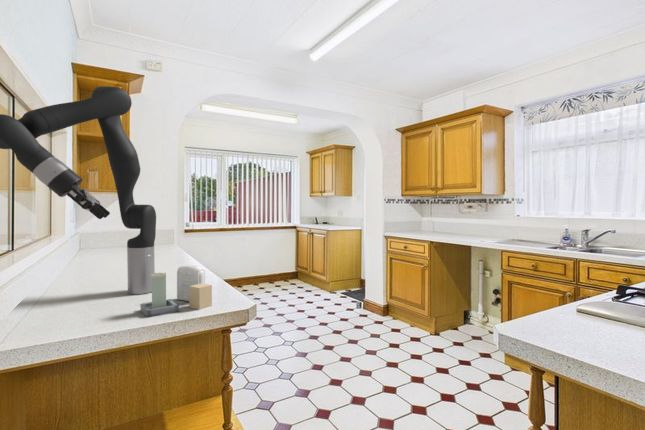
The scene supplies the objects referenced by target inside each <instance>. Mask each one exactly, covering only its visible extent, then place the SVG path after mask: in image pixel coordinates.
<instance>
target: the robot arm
mask: <svg viewBox="0 0 645 430" xmlns="http://www.w3.org/2000/svg"><path fill="white" fill-rule="evenodd" d="M131 108H132V98H131V95H130V94H129V93H128V92H127V91H126V90H124V89H123V88H121V87H117V86H104V85H103V86H101V85H100V86H97V87H96V88H94V89H93V91H92V93H91V96H90V97H89V98H85V99H81V100H75V101H70V102H63V103H57V104H50V105H47V106H44V107H43V106H42V107H40V108H35V109H32V110H29V111H27V112H25V113H24V114H23V116H22V117H20V118H19V119H16V118H14V117H13V116H11V115H8V114H2V113H0V149H2V150H11V151H12V152H13V153H14V156H15V158H16V160H17V161H18V162H19V163H20V164H21V165H22V166H23V167H25V168H26V170H28V171H29V172H30V173H32V174H33V175H34V177H36V178H37V179H38V180H39V181H40V182H41V183H42V184H43V185H45V187H48V189H50V190H51V191H53V192H54V193H55V194H56V195H57V196H58V197H60V198H62V197H63V198H64V197H66V196H67V197H69V198H70V199H71V200H73V202H75V203H76V204H77V205H78V206H79V207H81V209H83V210H86V211H88V212H90V213H91V214H92V215H94V217H96V218H97V219H98V220H102V219H104V218H107V217H108V216H109V215H111V212H110V211H109V210H108V209H106V208H105V207H104V206H103V205H102V204H101V202H100V201H99V200H98V199H97V198H96V197H95V196H94V195H92V194H90V192H89V191H88V189H85V188H81V187H79V186H80V185H81V184H82V182H83V178H82V177H81V176H79V175H78V174H77V172H75V171H74V170H72V168H70V167H69V166H68V165H66V163H65V162H63V161H62V160H60V159H59V158H57V157H55V155H53V154H52V153H51V152H50V151H49V150H47V148H45V147H44V146H42V145H41V143H40V142H39V141H38V140H37V139H38V138H39V137H41V136H43V135H47V134H51V133H54V132H57V131H60V130H63V129H66V128H70V127H73V126H76V125H79V124H83V123H87V122H88V121H89V122H90V121H94V120H97V121H98V124H99V127H100V130H101V133H102V137H103V141H104V145H105V150H106V153H107V158H108V162H109V167H110V170H111V173H112V177H113V180H114V184H115V187H116V188H115V189H116V193H117V199H118V207H119V214H120V219H121V223H122V224H123V226H124V227H125V228H127V229H129V230H130V229H131V230H135V229H136V230H137V229H138V230H139V234H137V235H136V236H135V237H132V238H129V239H128V240H127V242H126V250H127V251H126V252H127V253H126V256H127V259H126V260H127V264H126V265H127V266H126V267H127V293H128V294H129V295H144V294H149V293H152V277H151V275H152V273H156V272H155V269H156V268H155V240H156V234H157V233H156V231H157V227H156V226H157V213H156V209H155V207H154V206H153V205H151V204H136V203H135V201H134V189H135V186H136V184H137V182H138V179H139V177H140V175H141V164H140V161H139V155H138V152H137V149H136V148H135V146H134V144H133V143H132V141H131V139H130V138H129V136H128V135H127V133H126V131H125V129H124V127H123V122H122V119H121V116H123V115H126V114H127V113H128V112H130V110H131Z"/></svg>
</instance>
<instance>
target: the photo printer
mask: <svg viewBox="0 0 645 430" xmlns="http://www.w3.org/2000/svg"><path fill="white" fill-rule="evenodd" d="M201 283H203V284H206V272H205V269H204V268H203V267H200V266H198V265H193V264H185V265H182V266H179V267H178V268H177V270H176V299H177V300H179V301H186V302H189V286H192V285H196V284H201Z"/></svg>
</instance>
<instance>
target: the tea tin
mask: <svg viewBox="0 0 645 430" xmlns="http://www.w3.org/2000/svg"><path fill="white" fill-rule="evenodd" d="M151 277H152V292H151V302H152V309H155V308H161V307H166V300H167V272H166V271H164V272H163V271H162V272H155V273H152V275H151Z"/></svg>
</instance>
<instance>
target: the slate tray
mask: <svg viewBox="0 0 645 430" xmlns="http://www.w3.org/2000/svg"><path fill="white" fill-rule="evenodd" d="M179 309H180V308H179V304H177V303H176V302H174V301H173V300H172V299H170V298H169V299H166V307H161V308H155V309H152V301H151V302H145V303H140V311H141V312H142V314H143V315H144V316H145V317H146V318H152V317H156V316H157V317H158V316H163V315H169V314H173V313H178V312H179V311H180V310H179Z"/></svg>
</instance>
